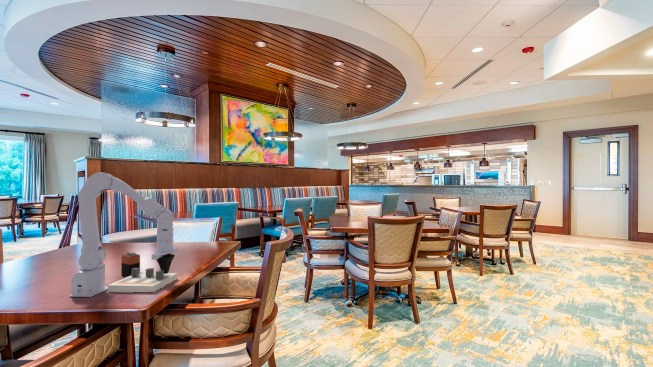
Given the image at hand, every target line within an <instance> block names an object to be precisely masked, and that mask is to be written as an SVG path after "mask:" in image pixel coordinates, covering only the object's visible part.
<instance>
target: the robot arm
mask: <svg viewBox="0 0 653 367" xmlns="http://www.w3.org/2000/svg"><path fill="white" fill-rule="evenodd" d="M108 190H110V191H116V192H120V193H122V194H123V195H125V196H126V197H128V198H129V199H130V200H133V201H134V202H136V204H138V207H139V209H140V211H142V212H144V213H145V214H147V216H150V217H151V218H152V219H156V221H157V229H156V230H157V231H156V232H157V233H156V237H157V238H156V251H155V252H154V253H152V254H151V260H152V261H153V260H155V261H156V262H157V264H158V265H159V270H164V274H167V273H170V268H171V264H172V262H173V260H174V258H175V256H176V255H175V254H174V253H177V252H178V246H174V227H173V226H174V223H173V221H174V219H175V218H174V213H173V212H172V211H171V210H170V209H167V208H168V207H166V205H165V206H164V205H162V204H160V203H159V202H158V201H157V199H156V198H155V197H153V198H152V197H149V196H148V197H146V196H143V195H142V194H141V193H140V192H138V191H137V190H135V189H134V188H133V187H132V186H130V185H129V184H128V183H126V182H125V181H123V180H121V179H120V178H119V177H116V176H114V175H112V174H111V173H108V172H107V173H106V172H101V171H99V172H95V173H93V174H92V175H90V176H89V177H88V178H87V179H86V180H85V183H84V185H83V186H82V188H81V189H80V190H79V192H78V194H77V200H78V208H79V219H80V229H81V240H82V244H81V248H80V256H79V258H78V264H79V266H80V267H79V271H77V272H76V273H74V275H72V277H71V294H69V297H75V298H77V297H78V298H79V297H80V298H84V297H86V298H88V297H89V298H90V297H93V296H96V295H98V294H100V293H102V292H105V291H108V286H106V285H105V282H106V278H105V276H106V275H105V274H106V272H105V271H106V268H105V267H106V264H105V263H104V262H103V261H104V260H105V258H106V256H107V254H106V251H105V249H104V248H103V244H102V242H101V239H100V230H99V220H98V209H97V208H98V207H97V200H96V199H97V198H98V197H99V196H101V194H103V193H104V192H106V191H108Z"/></svg>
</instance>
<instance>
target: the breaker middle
mask: <svg viewBox="0 0 653 367" xmlns="http://www.w3.org/2000/svg"><path fill="white" fill-rule="evenodd" d="M154 270H155V268H154V267H148V268H145V273H146V277H151V276H153V275H154V273H155V272H154Z"/></svg>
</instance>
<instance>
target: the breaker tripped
mask: <svg viewBox="0 0 653 367" xmlns="http://www.w3.org/2000/svg"><path fill="white" fill-rule="evenodd" d="M155 273H156V279H162V278H164V270H161V269H159V270H157V271H156V270H155Z"/></svg>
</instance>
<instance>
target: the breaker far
mask: <svg viewBox="0 0 653 367" xmlns="http://www.w3.org/2000/svg"><path fill="white" fill-rule="evenodd" d="M138 275H139V268H133V269H131V276H138Z"/></svg>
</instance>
